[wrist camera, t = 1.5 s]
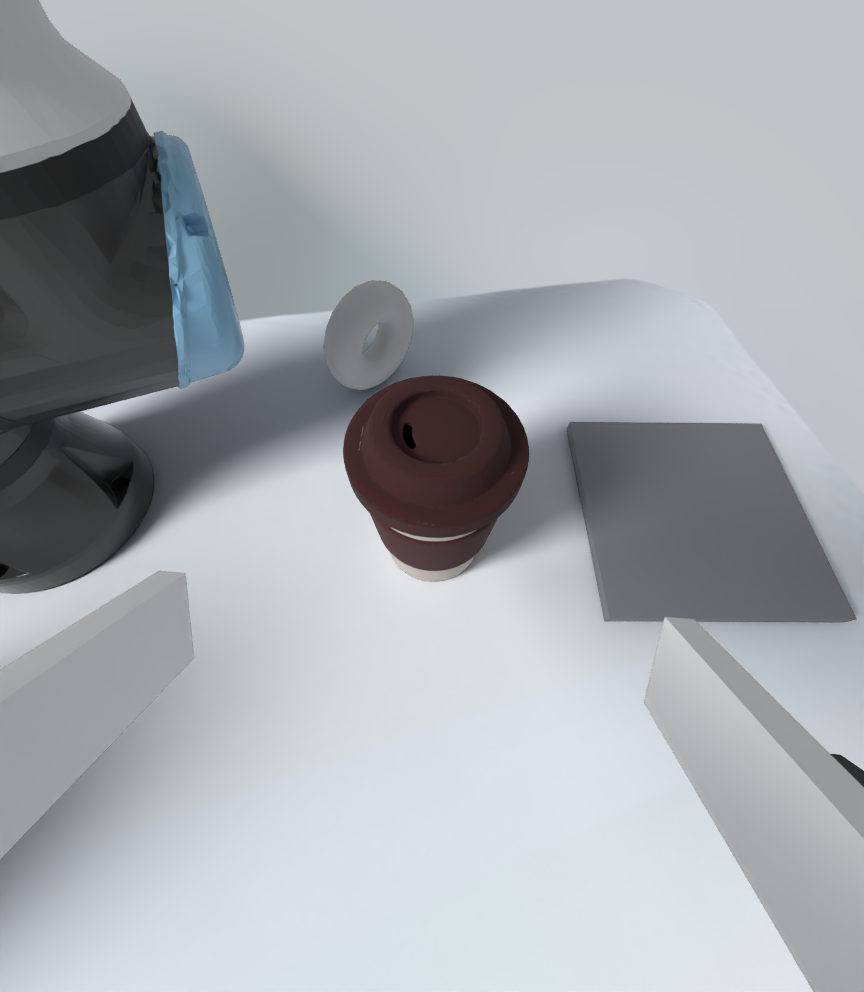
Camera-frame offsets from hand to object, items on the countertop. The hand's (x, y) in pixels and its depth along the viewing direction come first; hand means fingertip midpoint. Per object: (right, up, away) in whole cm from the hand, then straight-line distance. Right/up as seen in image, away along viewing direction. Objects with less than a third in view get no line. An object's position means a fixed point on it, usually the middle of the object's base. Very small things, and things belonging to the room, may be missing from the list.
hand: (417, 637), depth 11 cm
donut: (-5, +16, +31) cm, 35 cm away
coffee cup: (+1, 0, +22) cm, 22 cm away
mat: (+22, +2, +24) cm, 33 cm away
